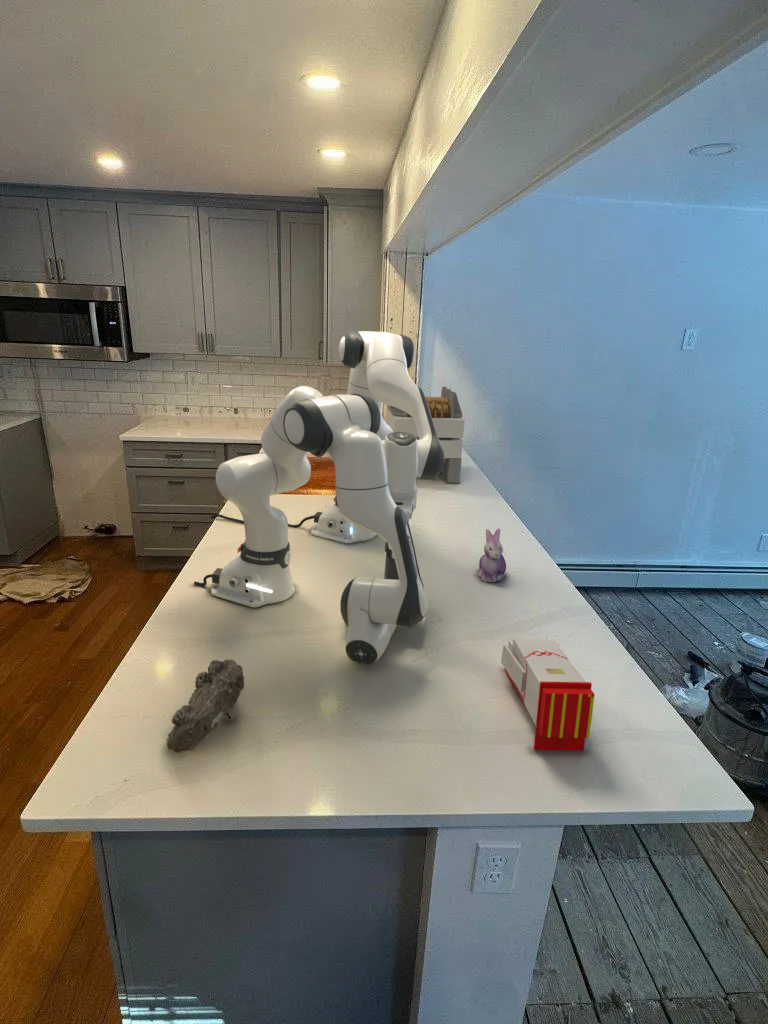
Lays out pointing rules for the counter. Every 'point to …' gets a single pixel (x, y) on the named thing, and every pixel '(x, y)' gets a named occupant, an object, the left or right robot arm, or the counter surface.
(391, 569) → the dark grey long cylinder
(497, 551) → the figurine
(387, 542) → the lid
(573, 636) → the counter surface
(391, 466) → the right robot arm
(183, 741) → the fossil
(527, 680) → the toy
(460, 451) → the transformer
